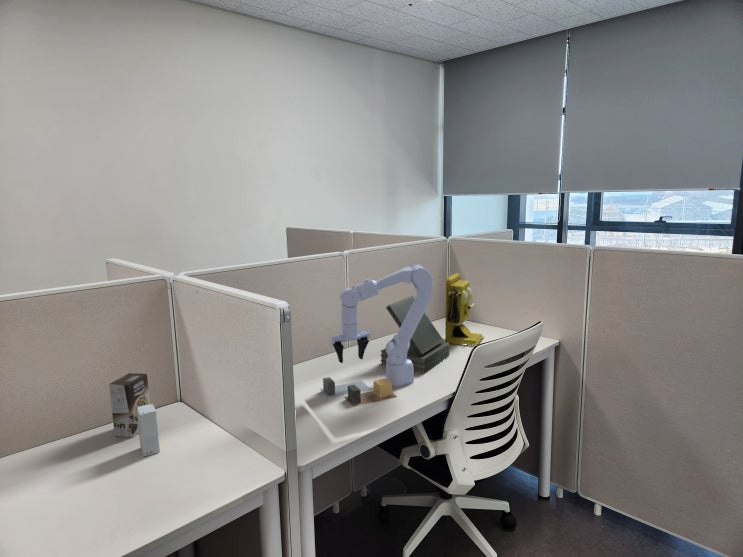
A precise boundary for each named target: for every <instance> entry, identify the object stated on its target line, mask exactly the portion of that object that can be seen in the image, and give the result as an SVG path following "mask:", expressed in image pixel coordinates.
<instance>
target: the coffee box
mask: <svg viewBox="0 0 743 557" xmlns="http://www.w3.org/2000/svg"><path fill="white" fill-rule="evenodd" d="M108 386H109V395H110V402H111V403H110V404H111V414H112V423H113V424H112V425H113V431H114V432H113V433H114V437H124V438H134V437H136V436H137V435H139V426H138V416H137V407H139V406H144V405H149V404H151V401H150V392H149V391H150V389H149V381H148V374H147V373H140V372H139V373H136V372H135V373H133V372H130V373H126V374H125V375H123V376H121V377H119V378H118V379H116V380H114V381H112V382H110V383H109V384H108Z"/></svg>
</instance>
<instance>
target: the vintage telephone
mask: <svg viewBox="0 0 743 557" xmlns="http://www.w3.org/2000/svg"><path fill="white" fill-rule="evenodd" d="M472 297H473V290H472V288H471V287H470V281H469V280H462V279H461V274H460V273H459V272H456V273H454V274H452V275H451V276H448V277H447V278H446V280H445V335H444V336H445V339H444V340H445V341H444V342H445V343H455V344H454V345H456V344H458V345H457V346H459V347H460V348H462V349H463V348H465V347H469V346H468V345H473V346H475V345H477V344H478V345H479V344H480V343H481V342H480V340H481V339H482V337H483V336H484V335H483V334H482V333H476V332H475V333H474V332H471V331H470V329H469V328H468V327H467V326H466V325H465V324H463V323H464V322H465V321H467V319H469V315H470V309H472V307H474V306H475V305H476V304H475V303H474V302H473V303H472V304H470V301H471V300H472ZM482 340H483V339H482ZM482 340H481V341H482ZM479 342H480V343H479ZM459 344H467V345H466V346H464V345H463V346H462V345H459ZM478 345H477V346H478Z"/></svg>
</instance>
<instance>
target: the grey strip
mask: <svg viewBox="0 0 743 557" xmlns="http://www.w3.org/2000/svg"><path fill="white" fill-rule="evenodd" d="M322 383H323V384H322V388H320V389H319V390H320V391H321V393H322V394H323V395H324V396H325V397H326V398H327V399H330V398H334V397H338V396H344V395H348V386H349V385H355V386H357V387H358V388H359V389H360V390H361V392H362V391H364V392H365V391H367V390H372V388H370V386H368V385H367V384H366V383H365V382H363V380H359V381H354V382H350V383H345V384H339V385H336V382H335V381H334V380H333V378H331V377H330V376H328V377H324V378H322Z"/></svg>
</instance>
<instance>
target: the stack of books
mask: <svg viewBox="0 0 743 557" xmlns="http://www.w3.org/2000/svg"><path fill="white" fill-rule="evenodd" d="M414 299H415V297H414V295H411V296H408V297H405V298H403V299H401V300H399V301H395V302H394V303H391V304H388V305H387V306H386V307H385V309H386V310H387V311H388V313H389V315H390V316H391V317H392V319H393V321H394V322H395V324H396V325H397V326H398V328H399V329H400V327H401V325H402V323H403V321H404V319H405V317H406V315H407V313H408V311H409V309H410V307H411V305H412V303H413V301H414ZM444 340H445V339H443V338H442V336H441V334H440V333H439V331H438V330H437V329H436V327H435V326H434V324H433V323H432V322H431V320H430V318H429V316H428V315H427V314H426V312H424V314H423V316H422V318H421V320H420V322H419V324H418V326H417V328H416V330H415V332H414V334H413V336H412V337H411V339H410V345H409V349H408V351H407V359H409V360H411V362H412V364H413V367H414V373H418V374H423V375H425V374H426V373H428V372H429V371H431V370H432V369H434V368H435V367H436V365H437V366H438V365H440V364H441V363H442V362H444V361H445V360H446V359H448V358H449V357H450V344H449V343H445V341H444ZM380 352H381V353H380V358H381V359H380V363H381V365H382V366H385V367H386V359H387V358H388V354H387V352H386V347H385V348H383V349H381V350H380ZM448 356H449V357H448ZM447 357H448V358H447ZM444 359H445V360H444ZM443 360H444V361H443ZM440 362H441V363H440Z"/></svg>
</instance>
